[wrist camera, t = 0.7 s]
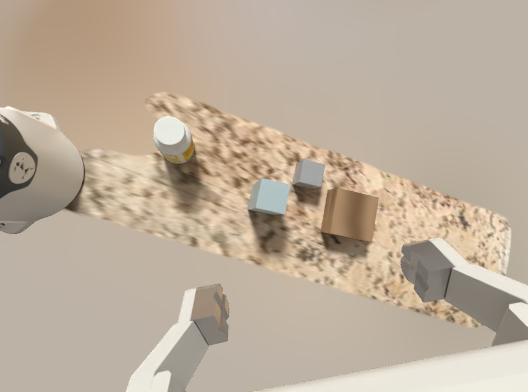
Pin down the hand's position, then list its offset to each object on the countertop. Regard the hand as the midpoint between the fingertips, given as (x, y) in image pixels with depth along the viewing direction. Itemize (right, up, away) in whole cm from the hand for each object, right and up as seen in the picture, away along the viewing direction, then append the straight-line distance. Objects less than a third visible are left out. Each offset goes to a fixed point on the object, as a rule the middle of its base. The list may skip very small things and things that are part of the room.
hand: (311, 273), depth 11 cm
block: (+5, +7, +36) cm, 38 cm away
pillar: (-2, +3, +35) cm, 35 cm away
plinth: (+13, 0, +37) cm, 39 cm away
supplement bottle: (-17, +12, +33) cm, 38 cm away
